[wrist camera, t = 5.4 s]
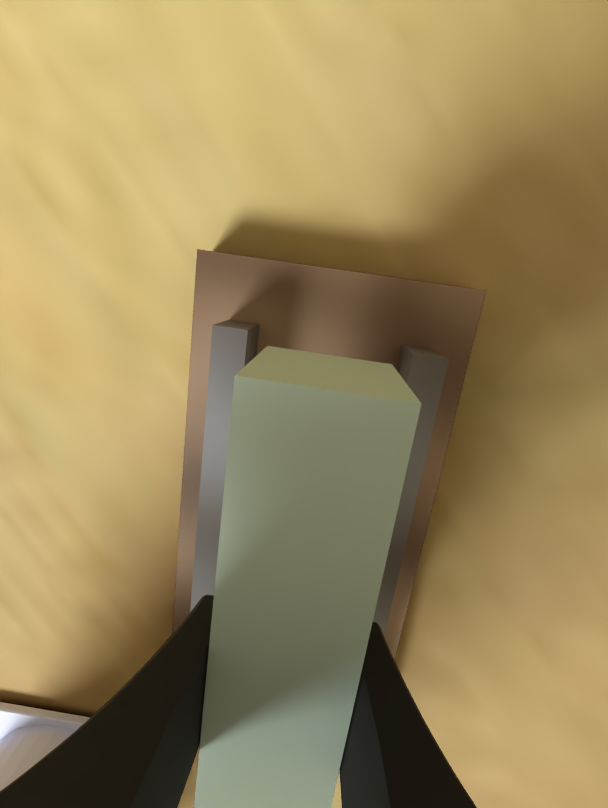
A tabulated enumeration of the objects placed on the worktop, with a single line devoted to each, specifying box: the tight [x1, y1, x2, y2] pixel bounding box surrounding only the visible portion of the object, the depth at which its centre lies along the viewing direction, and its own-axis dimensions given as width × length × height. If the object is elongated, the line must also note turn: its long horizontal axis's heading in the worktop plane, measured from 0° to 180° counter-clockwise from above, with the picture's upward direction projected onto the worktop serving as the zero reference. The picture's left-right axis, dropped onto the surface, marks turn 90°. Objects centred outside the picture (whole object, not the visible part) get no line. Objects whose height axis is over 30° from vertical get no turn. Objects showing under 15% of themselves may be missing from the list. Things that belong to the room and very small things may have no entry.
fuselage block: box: [194, 346, 422, 808], centre depth 10 cm, size 14×3×4 cm, turn 172°
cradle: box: [172, 249, 486, 660], centre depth 15 cm, size 18×9×4 cm, turn 172°
